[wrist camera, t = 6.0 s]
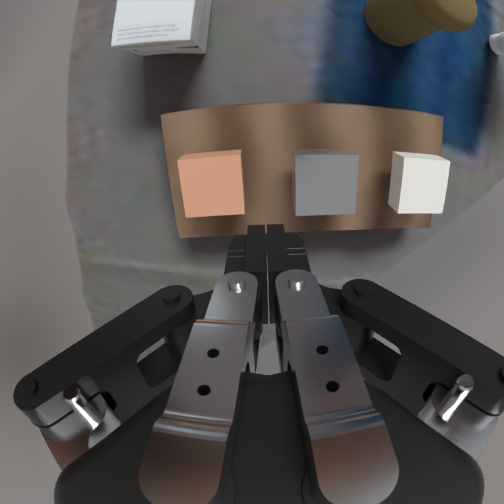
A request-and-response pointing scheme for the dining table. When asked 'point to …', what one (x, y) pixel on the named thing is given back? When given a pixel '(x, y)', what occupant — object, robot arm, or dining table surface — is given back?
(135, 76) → the dining table surface
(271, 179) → the key panel
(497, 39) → the lightbulb
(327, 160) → the grey key
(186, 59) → the dining table surface
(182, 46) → the skincare box
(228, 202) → the terracotta key
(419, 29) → the olive rounded waisted cylinder
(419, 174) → the off-white key
